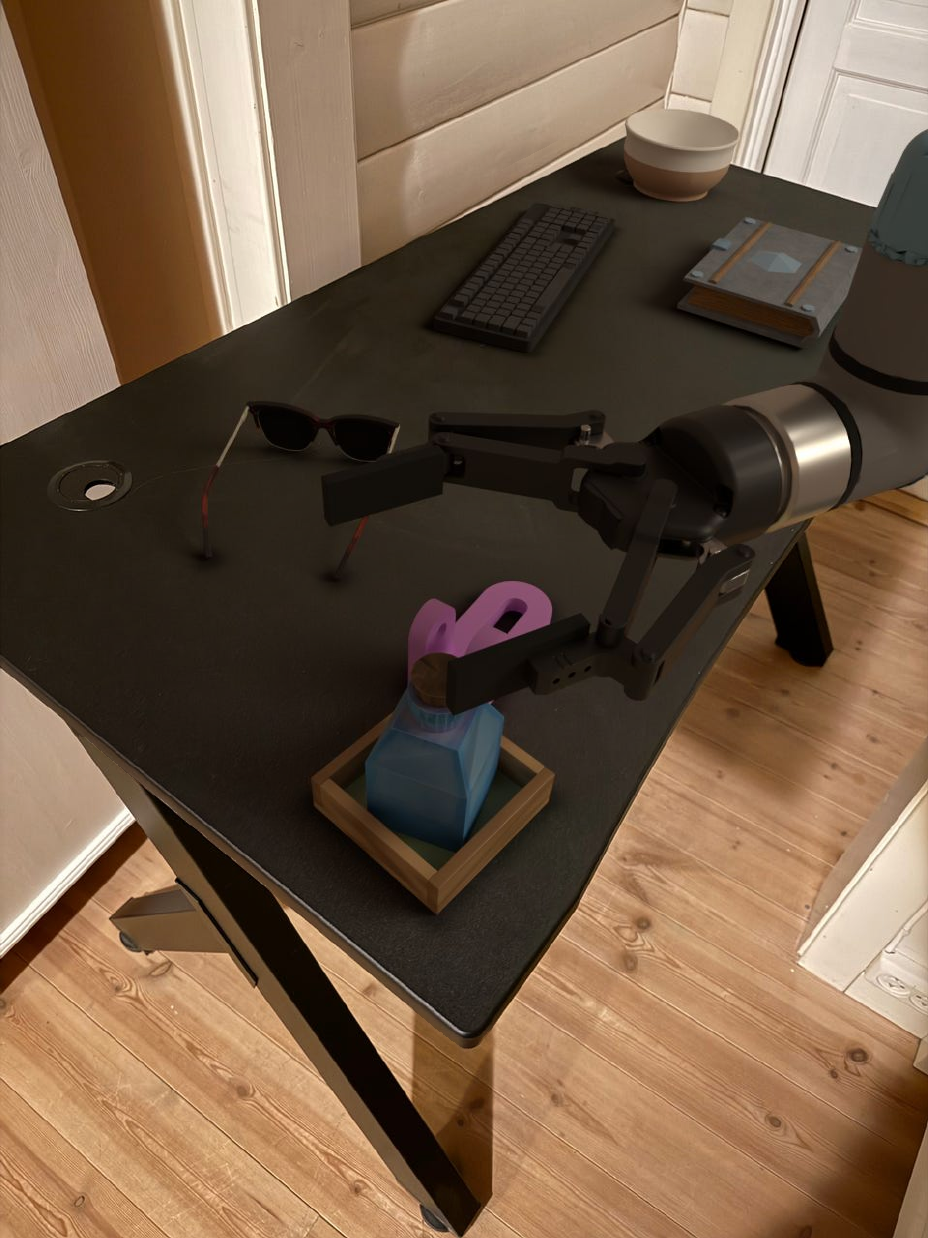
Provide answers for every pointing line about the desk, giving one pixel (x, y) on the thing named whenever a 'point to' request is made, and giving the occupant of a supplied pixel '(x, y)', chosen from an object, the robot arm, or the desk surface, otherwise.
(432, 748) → the blue bottle with cork
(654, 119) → the bowl
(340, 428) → the sunglasses
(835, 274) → the book
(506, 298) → the keyboard
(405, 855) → the holder
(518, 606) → the bracket
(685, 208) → the desk surface
